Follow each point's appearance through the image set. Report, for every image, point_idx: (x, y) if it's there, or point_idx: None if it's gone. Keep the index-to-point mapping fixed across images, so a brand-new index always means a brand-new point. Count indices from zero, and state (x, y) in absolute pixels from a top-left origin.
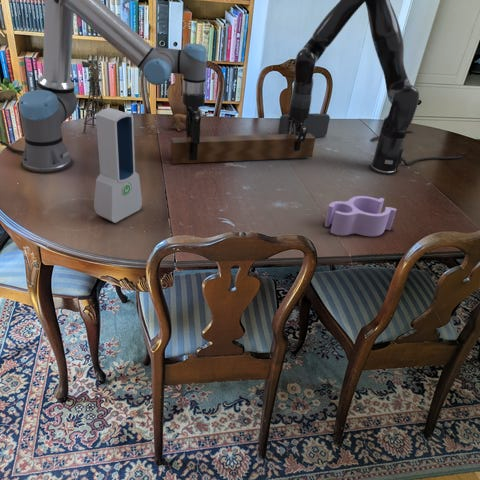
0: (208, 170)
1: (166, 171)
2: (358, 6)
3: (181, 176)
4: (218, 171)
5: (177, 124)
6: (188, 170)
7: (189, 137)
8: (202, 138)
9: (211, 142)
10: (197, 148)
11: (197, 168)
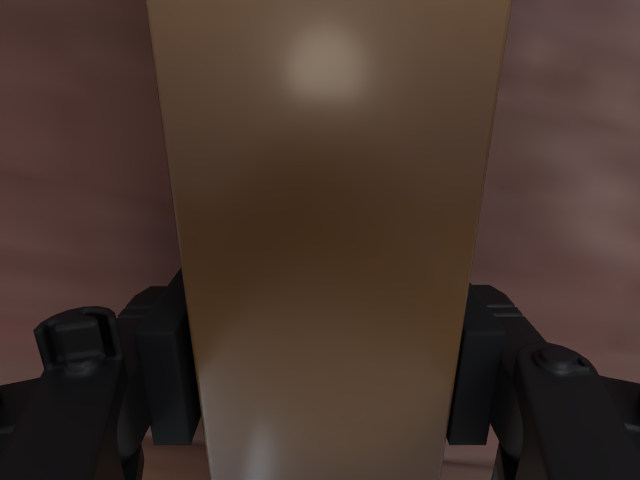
0: (566, 115)
1: (486, 445)
2: None
3: (604, 368)
4: (626, 3)
5: None
6: (512, 299)
7: (216, 414)
8: (282, 195)
9: (503, 12)
10: (470, 284)
11: (491, 215)
